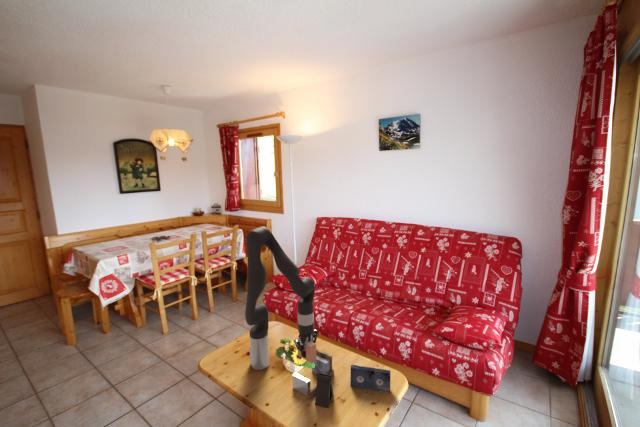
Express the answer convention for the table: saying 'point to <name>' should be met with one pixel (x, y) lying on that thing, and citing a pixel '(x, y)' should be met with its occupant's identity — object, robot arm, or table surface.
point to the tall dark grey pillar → (321, 368)
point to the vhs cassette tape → (370, 378)
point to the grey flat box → (301, 384)
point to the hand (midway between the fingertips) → (307, 354)
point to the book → (309, 352)
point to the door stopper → (323, 390)
